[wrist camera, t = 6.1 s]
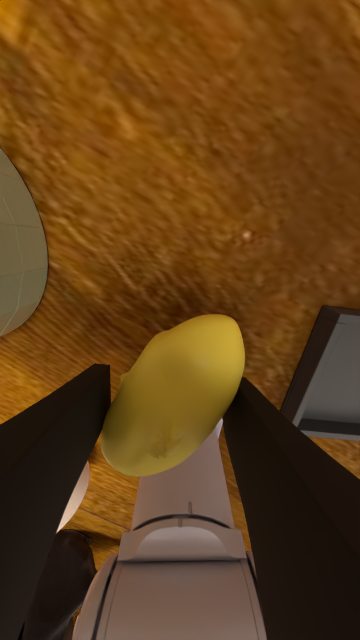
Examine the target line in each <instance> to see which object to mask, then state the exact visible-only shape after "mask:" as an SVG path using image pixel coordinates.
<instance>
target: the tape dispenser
mask: <svg viewBox="0 0 360 640" xmlns="http://www.w3.org/2000/svg"><path fill="white" fill-rule="evenodd" d="M90 543H92V540H91V539H89V538H88V537H86V536H85V535H83V534H81V533H79V532H77V531H74V530H63V531H60V532H59V533H57V534H56V535H55V538H54V540H53V543H52V546H51V548H50V551H49V554H48V556H47V559H46V562H45V564H44V567H43V570H42V573H41V575H40V578H39V581H38V584H37V586H36V589H35V592H34V595H33V597H32V600H31V603H30V606H29V608H28V611H27V614H26V617H25V620H24V623H23V625H22V628H21V631H20V634H19V637H18V640H72V638H73V629H74V625H73V616H72V615H73V614H74V613H75V612H76V610H77V609H78V608H79V607H80V606H81V605H83V603H84V600H85V597H86V594H87V592H88V589H89V587H90V585H91V583H92V581H93V579H94V577H95V575H96V574H97V572H98V571H97V570H96V568H95V564H94V558H93V553H92V550H91V548H90V547H89V544H90Z"/></svg>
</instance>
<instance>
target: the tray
mask: <svg viewBox="0 0 360 640" xmlns="http://www.w3.org/2000/svg"><path fill="white" fill-rule="evenodd" d="M280 412H281V413H282V414H283V415H284V416H285V417H286V418H287V419H288V420H289V421H291V422H292V423H293V424H294V425H295V426H296V427H297V428H298V429H299V430H300V431H302V432H303V433H304V434H305V435H306V436H311V437H322V438H333V439H344V440H355V441H360V310H354V309H346V308H337V307H329V306H323V307H322V309H321V311H320V314H319V316H318V319H317V321H316V324H315V326H314V329H313V331H312V334H311V336H310V339H309V341H308V344H307V346H306V349H305V351H304V354H303V356H302V358H301V361H300V363H299V366H298V368H297V371H296V373H295V376H294V378H293V381H292V383H291V386H290V388H289V391H288V393H287V396H286V398H285V400H284V403H283V405H282V408H281V410H280Z"/></svg>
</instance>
